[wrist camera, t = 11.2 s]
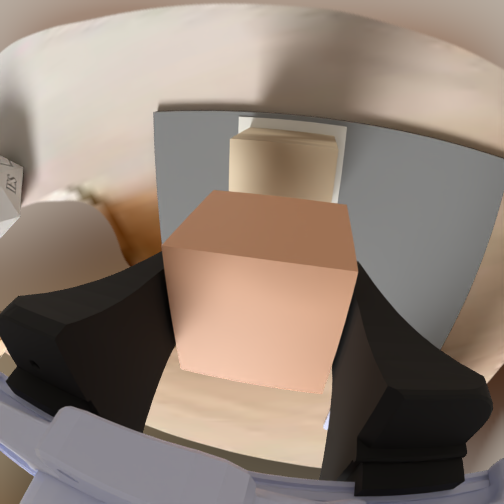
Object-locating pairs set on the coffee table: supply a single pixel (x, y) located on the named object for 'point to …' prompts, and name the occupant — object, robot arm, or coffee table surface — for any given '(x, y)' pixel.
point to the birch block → (283, 163)
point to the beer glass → (2, 346)
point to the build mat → (361, 201)
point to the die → (9, 193)
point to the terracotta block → (261, 288)
